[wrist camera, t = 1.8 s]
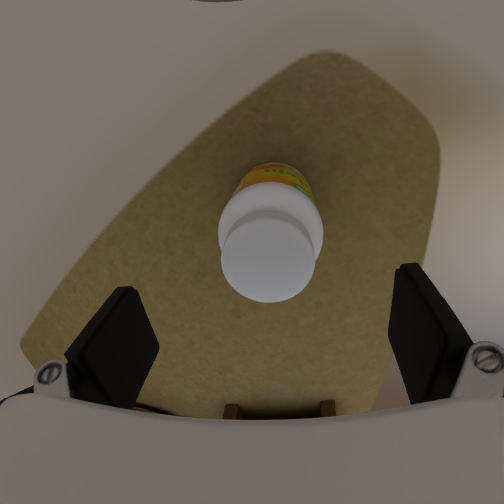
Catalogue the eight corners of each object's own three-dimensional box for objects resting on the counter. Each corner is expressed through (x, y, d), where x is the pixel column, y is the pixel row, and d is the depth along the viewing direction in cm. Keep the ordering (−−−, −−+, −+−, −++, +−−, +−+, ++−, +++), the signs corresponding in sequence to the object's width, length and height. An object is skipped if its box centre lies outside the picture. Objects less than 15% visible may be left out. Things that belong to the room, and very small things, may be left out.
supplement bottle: (325, 183, 20) (357, 239, 12) (290, 244, 23) (293, 331, 14) (256, 148, 20) (234, 178, 11) (225, 214, 22) (187, 286, 13)
